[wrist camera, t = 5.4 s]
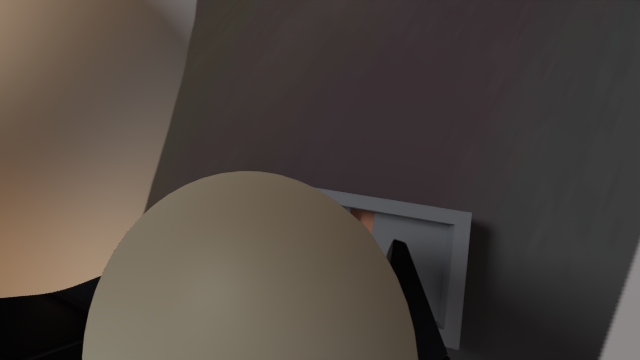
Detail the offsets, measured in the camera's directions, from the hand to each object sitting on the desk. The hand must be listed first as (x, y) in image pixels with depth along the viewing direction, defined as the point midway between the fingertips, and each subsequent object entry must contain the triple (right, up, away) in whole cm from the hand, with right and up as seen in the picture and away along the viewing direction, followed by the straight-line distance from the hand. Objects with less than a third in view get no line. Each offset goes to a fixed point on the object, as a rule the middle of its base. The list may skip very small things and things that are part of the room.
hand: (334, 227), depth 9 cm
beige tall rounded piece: (+1, -2, +6) cm, 6 cm away
